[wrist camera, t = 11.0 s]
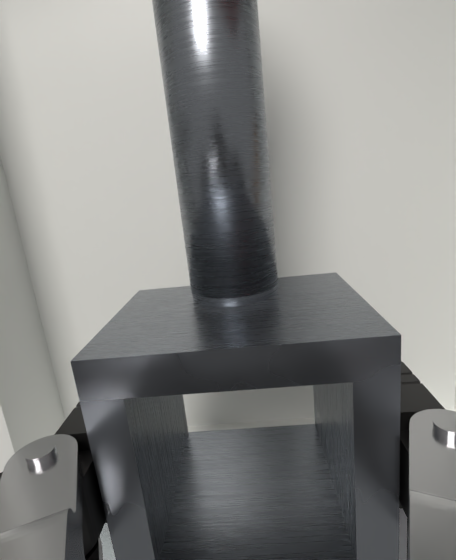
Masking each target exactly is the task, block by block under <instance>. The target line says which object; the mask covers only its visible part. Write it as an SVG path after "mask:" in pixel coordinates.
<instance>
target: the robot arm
mask: <svg viewBox="0 0 456 560" xmlns="http://www.w3.org/2000/svg"><path fill="white" fill-rule="evenodd" d="M399 508H403V510H404V512H405V514H406V516H407V560H456V412H455V411H451V410H446V409H445V408H444V407H443V406H442V405H441V404H440V403H439V402H438V400H437V399H436V398H435V397H434V396H433V395H432V394H431V393H430V392H429V390H428V389H427V388H426V387H425V386H424V385H423V384H422V383H420V380H419V379H418V378H417V377H416V376H415V375H414V374H412V371H411V370H410V369H409V368H408V367H407V366H406V365H405V364H404V362H402V361H401V401H400V483H399ZM104 523H107V518H106V514H105V510H104V505H103V501H102V497H101V492H100V488H99V484H98V479H97V475H96V470H95V466H94V462H93V457H92V453H91V449H90V444H89V440H88V436H87V431H86V427H85V423H84V418H83V414H82V410H81V405H80V401H79V402H78V404H77V405H76V408H74V409H73V410H72V412H71V413H70V414H69V416H68V417H67V418H66V420H65V421H64V422H63V424H62V425H61V426H60V428H59V429H58V430H57V432H56V433H55V434H54V435H50V436H46V437H43V438H40V439H37V440H35V441H33V442H31V443H29V444H27V445H26V446H24V447H22V448H21V449H20V450H18V451H17V452H16V453H15V454H14V455H12V456H11V458H10V459H9V460H8V461H7V463H6V465H5V467H4V470H3V472H1V473H0V560H103V551H102V543H101V539H100V533H101V531H102V528H103V526H104Z"/></svg>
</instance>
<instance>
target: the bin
mask: <svg viewBox="0 0 456 560" xmlns="http://www.w3.org/2000/svg"><path fill="white" fill-rule="evenodd" d="M257 4H258V17H259V31H260V44H261V58H262V72H263V85H264V99H265V112H266V126H267V139H268V153H269V167H270V180H271V194H272V207H273V221H274V234H275V248H276V262H277V275H278V278H280V277H291V276H302V275H313V274H324V273H335V272H336V273H337V274H338V275H339V276H340V277H341V278H342V279H343V280H345V281H346V282H347V283H348V284H349V285H350V286H351V287H352V288H353V289H354V290H355V291H356V292H357V293H358V294H359V295H360V296H361V297H362V298H363V299H364V300H365V301H366V302H367V303H369V304H370V305H371V306H372V307H373V308H374V309H375V310H376V311H377V312H378V313H379V314H380V315H381V316H382V317H383V318H384V319H385V320H386V321H387V322H388V323H389V324H390V325H391V326H393V327H394V328H395V329H396V330H397V331H398V332H399V333H400V334H401V361H402V362H404V364H405V365H406V366H407V367H408V368H409V369H410V370H411V371H412V374H414V375H415V376H416V377H417V378H418V379H419V380H420V383H422V384H423V385H424V386H425V387H426V388H427V389H428V390H429V392H430V393H431V394H432V395H433V396H434V397H435V398H436V399H437V400H438V402H439V403H440V404H441V405H442V406H443V407H444V408H445V409H446V410H451V411H455V412H456V0H257ZM181 286H190V279H189V272H188V264H187V257H186V249H185V242H184V235H183V227H182V220H181V212H180V205H179V197H178V190H177V183H176V175H175V168H174V160H173V153H172V146H171V138H170V131H169V123H168V116H167V108H166V101H165V94H164V86H163V79H162V71H161V64H160V56H159V49H158V42H157V34H156V27H155V19H154V12H153V5H152V0H0V473H1V472H3V470H4V467H5V465H6V463H7V461H8V460H9V459H10V458H11V456H12V455H14V454H15V453H16V452H17V451H18V450H20V449H21V448H22V447H24V446H26V445H27V444H29V443H31V442H33V441H35V440H37V439H40V438H43V437H46V436H50V435H54V434H55V433H56V432H57V430H58V429H59V428H60V426H61V425H62V424H63V422H64V421H65V420H66V418H67V417H68V416H69V414H70V413H71V412H72V410H73V409H74V408H76V405H77V404H78V402H79V397H78V392H77V388H76V384H75V379H74V375H73V371H72V366H71V362H70V361H71V360H72V359H73V358H74V357H75V356H76V355H77V354H78V353H79V352H80V351H81V350H82V349H83V348H84V347H85V346H86V345H87V344H88V343H89V342H90V341H91V339H92V338H93V337H94V336H95V335H96V334H97V333H98V332H99V331H100V330H101V329H102V328H103V327H104V326H105V325H106V324H107V323H108V322H109V321H110V320H111V319H112V318H113V317H114V316H115V315H116V314H117V313H118V312H119V311H120V310H121V309H122V308H123V307H124V305H125V304H126V303H127V302H128V301H129V300H130V299H131V298H132V297H133V296H134V295H135V294H136V293H137V292H138V291H139V290H148V289H159V288H170V287H181ZM183 400H184V406H185V413H186V420H187V426H188V432H198V431H213V430H229V429H244V428H259V427H274V426H290V425H305V424H315V414H314V395H313V385H308V386H295V387H281V388H267V389H253V390H239V391H225V392H211V393H198V394H184V395H183Z"/></svg>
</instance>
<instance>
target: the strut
mask: <svg viewBox="0 0 456 560" xmlns="http://www.w3.org/2000/svg"><path fill="white" fill-rule="evenodd" d="M152 5H153V12H154V19H155V27H156V34H157V42H158V49H159V56H160V64H161V71H162V79H163V86H164V94H165V101H166V108H167V116H168V123H169V131H170V138H171V146H172V153H173V160H174V168H175V175H176V183H177V190H178V197H179V205H180V212H181V220H182V227H183V235H184V242H185V249H186V257H187V264H188V272H189V279H190V286H181V287H170V288H159V289H148V290H139V291H138V292H137V293H136V294H135V295H134V296H133V297H132V298H131V299H130V300H129V301H128V302H127V303H126V304H125V305H124V307H123V308H122V309H121V310H120V311H119V312H118V313H117V314H116V315H115V316H114V317H113V318H112V319H111V320H110V321H109V322H108V323H107V324H106V325H105V326H104V327H103V328H102V329H101V330H100V331H99V332H98V333H97V334H96V335H95V336H94V337H93V338H92V339H91V341H90V342H89V343H88V344H87V345H86V346H85V347H84V348H83V349H82V350H81V351H80V352H79V353H78V354H77V355H76V356H75V357H74V358H73V359H72V360H71V361H70V362H71V366H72V371H73V375H74V379H75V384H76V388H77V392H78V397H79V401H80V405H81V410H82V414H83V418H84V423H85V427H86V431H87V436H88V440H89V444H90V449H91V453H92V457H93V462H94V466H95V470H96V475H97V479H98V484H99V488H100V492H101V497H102V501H103V505H104V510H105V514H106V518H107V523H108V527H109V531H110V536H111V540H112V544H113V549H114V553H115V557H116V560H399V483H400V401H401V334H400V333H399V332H398V331H397V330H396V329H395V328H394V327H393V326H391V325H390V324H389V323H388V322H387V321H386V320H385V319H384V318H383V317H382V316H381V315H380V314H379V313H378V312H377V311H376V310H375V309H374V308H373V307H372V306H371V305H370V304H369V303H367V302H366V301H365V300H364V299H363V298H362V297H361V296H360V295H359V294H358V293H357V292H356V291H355V290H354V289H353V288H352V287H351V286H350V285H349V284H348V283H347V282H346V281H345V280H343V279H342V278H341V277H340V276H339V275H338V274H337V273H336V272H335V273H324V274H313V275H302V276H291V277H280V278H278V275H277V262H276V248H275V234H274V221H273V207H272V194H271V180H270V167H269V153H268V139H267V126H266V112H265V99H264V85H263V72H262V58H261V44H260V31H259V17H258V4H257V0H152ZM308 385H313V395H314V414H315V424H305V425H290V426H274V427H259V428H244V429H229V430H213V431H198V432H188V426H187V420H186V413H185V406H184V400H183V395H184V394H198V393H211V392H225V391H239V390H253V389H267V388H281V387H295V386H308Z"/></svg>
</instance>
